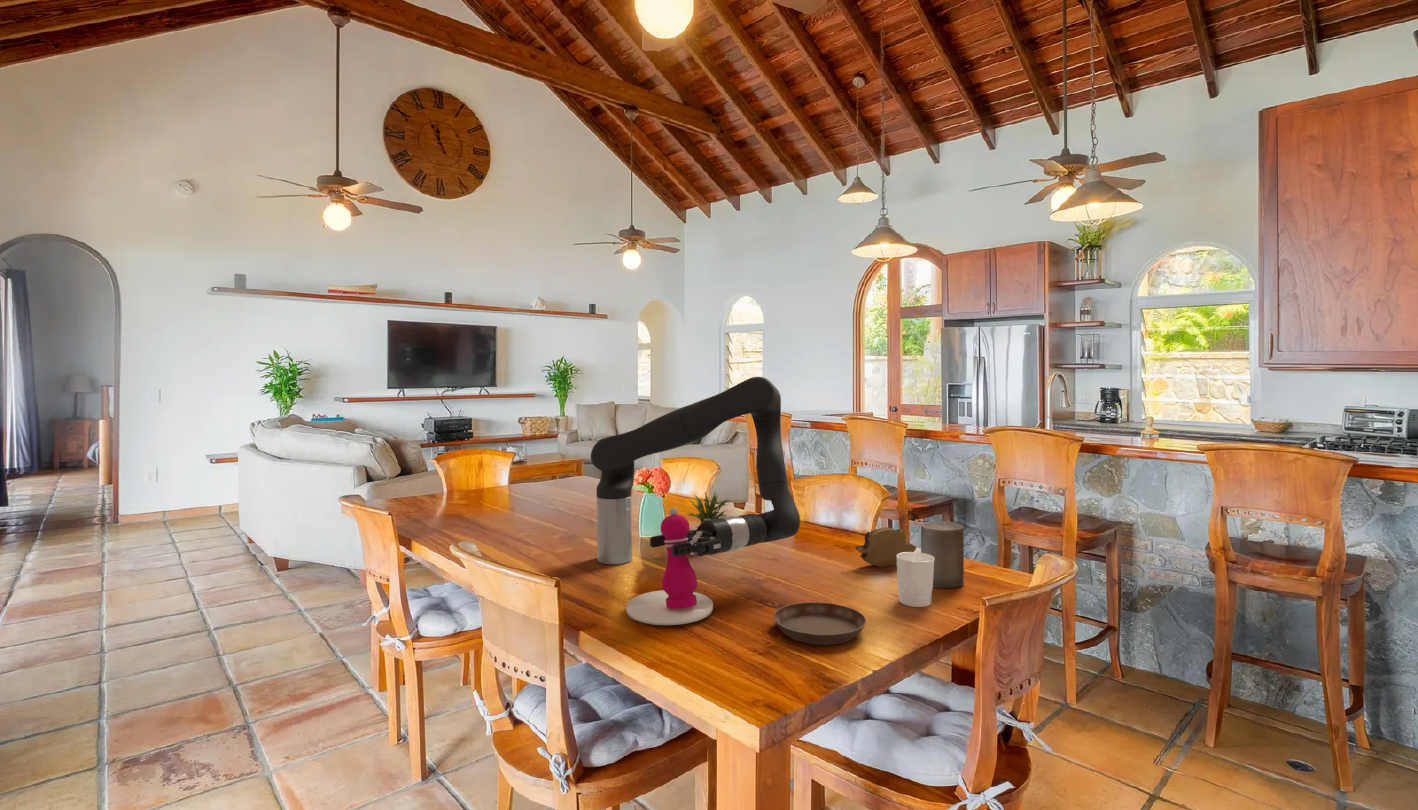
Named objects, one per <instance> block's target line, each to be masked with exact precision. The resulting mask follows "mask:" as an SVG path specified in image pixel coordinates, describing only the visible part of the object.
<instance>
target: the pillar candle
mask: <svg viewBox="0 0 1418 810" xmlns="http://www.w3.org/2000/svg"><path fill="white" fill-rule="evenodd" d="M964 533H965V532H964V525H963V524H960V523H957V522H953V521H945V520H944V519H942V520H940V521H939V520H933V521H925V522H922V523H921V524H920V553H925V554H929V555H931V556H933V557H934V558H935V559H934V577H933V588H939V589H953V588H954V589H955V588H961V587H962V586H964V584H965V582H964V574H965V573H964V563H965V562H964V558H965V557H964V555H965V554H964V546H965V545H964V540H965V539H964V538H965V537H964V535H965V534H964Z"/></svg>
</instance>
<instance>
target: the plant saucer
mask: <svg viewBox="0 0 1418 810" xmlns="http://www.w3.org/2000/svg"><path fill="white" fill-rule="evenodd" d="M773 620H774V622H775V623H776V625H777V627H778V628H779V629H780V630H781V632H783V634H785V635H786V636H787V637H788V638H789V639H793V640H794V641H797V642H800V643H804V644H810V645H818V646H829V645H830V646H832V645H839V644H844V643H848V642H850V641H852V640H853V639H855V638H856V637H857V636H858V635H859V634H860V633H861V632H862V630H863V629H864V628H865V625H866V624H867V618H866V617H865V614H863V613H861V612H860V611H858V610H856V609H854V608H851V607H847V606H846V605H841V604H835V603H829V602H812V601H811V602H799V603H793V604H788V605H785V606H783V607H780V608H779V609H777V610H775V612H774V614H773Z"/></svg>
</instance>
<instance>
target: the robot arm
mask: <svg viewBox="0 0 1418 810" xmlns="http://www.w3.org/2000/svg"><path fill="white" fill-rule="evenodd" d="M781 406H782V397H781V394H780V391H779V390H778V388H777V387H776V386H775V385H774V383H773V382H772V381H770V380H769V379H768V378H766V377H763V376H753V377H750V378H747V379H745V380H743V381H741V382H739V383H738V384H735V385H734V386H732V387H730V388H728V389H725V390H724V391H721V392H719V393H718V394H716V395H713V396H710V397H707V398H703V399H702V400H699V401H697V402H693V403H691V404H688V405H685V406H682V407H680V408H677V409H675V410H672V411H670V412H668V413H665V414H664V415H663V414H662V415H661V416H659V417H657V418H654V419H652V420H651V421H649V422H647V423H645V424H643V425H641V426H640V427H637V428H635V429H633V430H630V431H626V432H623V433H621V434H614V435H609V436H607V437H603V438H601V439H599V440H598V441H597V442H596V443H595V444H594V445H593V447H592V449H591V452H590V461H591V463H592V465H593V466H594V467H595V468H596V469H598V470H599V471H601V474H600V475H601V476H600V479H599V481H598V484H597V485H596V491H595V492H596V540H597V541H596V543H597V544H596V546H597V550H596V551H597V558H596V559H597V562H598V563H600V564H604V565H621V564H626V563H630V562H631V561H632V560H633V521H632V520H633V511H632V509H633V506H632V505H633V504H632V503H633V501H632V494H633V493H632V491H633V490H632V489H633V486H634V481H635V462H636V461H637V460H639V459H642V458H644V457H646V456H651V455H654V454H657V453H662V452H667V451H670V450H673V449H677V448H680V447H684V446H687V445H689V444H691V443H694V442H696V441H699V440H701V439H703V438H705V437H706V436H707V435H709V434H710V433H712V432H713V431H714V430H716V428H718V427H719V426H721V425H722V424H724V423H725V422H727V421H730V420H733V419H735V418H738V417H740V416H745V415H748V414H750V416H751V419H752V421H753V425H754V427H755V432H756V434H755V435H756V444H757V445H756V460H755V461H756V464H755V466H756V476H757V477H756V478H757V482H758V483H757V484H758V491H759V495H760V498H761V499H763V500H764V501H770V502H771V505H772V507H773V509H772V510H769V511H765V512H761V513H757V514H756V513H746V514H742V515H736V516H735V515H731V516H730V515H729V516H727V517H719V518H716V519H710V520H705V521H703V522H702V523H701V522H700V524H698V525H699V527H698V529H696V528H689V532H688V534H687V535H686V538H688V540H687V541H688V543H687V542H686V543H681V544H676V545H673V546H672V555H673V556H680V555H685V554H687V555H692V556H693V555H696V556H698V557H702V556H706V555H708V556H713V555H718V554H722V553H728V552H732V551H733V552H734V551H736V550H740V549H741V548H746V547H750V546H751V547H752V546H755V545H758V544H762V543H763V544H764V543H770V542H775V541H779V540H783V539H788V538H790V537H794V536H795V535H796V534H797V533H798V532H799V530H800V526H801V517H800V513H799V510H798V508H797V505H796V503H795V500H794V498H793V496H792V494H791V491H790V488H789V483H788V475H787V470H786V469H787V468H786V463H785V457H784V450H783V442H782V427H781V421H782V420H781V415H782V414H781V413H782V412H781V410H782V409H781V408H782V407H781ZM664 540H666V538H665V537H664V536H663V535H662V534H658V535H653V536H650V537H649V546H650V547H651V548H658V547H663V546H664V545H665V542H664ZM664 547H665V546H664Z"/></svg>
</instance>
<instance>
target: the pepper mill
mask: <svg viewBox="0 0 1418 810" xmlns="http://www.w3.org/2000/svg"><path fill="white" fill-rule="evenodd" d="M678 512H679V511H678V508H677V507H675V506H673V507H671V508H670V509H669V511H668V513H669V515H668V516H666V517H664V518H663V520H662V521H661V524H660V532H661V533H660V534H661V535H663V536H664V537H665V538H666V540H664V542H665V545H664V547H665V548H666V552H667V561H666V567H665V570H664V573H663V576H662V582H661V583H662V584H661V586H662V590H664V591H665V592H666V593H667V594H668V596H669V597H667V598H666V606H667V608H670V609H680V608H688V607H692V606H695V605H696V604H697V599H696V595H694V594H693V592H695V591H696V589H697V588H698V578H697V575H696V573H695V571H694V569H693V567H692V566H691V563H690V560H689V558H688V557H689V556H688V554H685V555H680V556H673V555H672V546H673V545H676V544H681V543H686V542H687V543H688V541H687V540H688V538H686V535H687V534H688V532H689V529H690V524H689V520H688V519H687V518H686V517H685V516H683V515H680V514H678Z"/></svg>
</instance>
